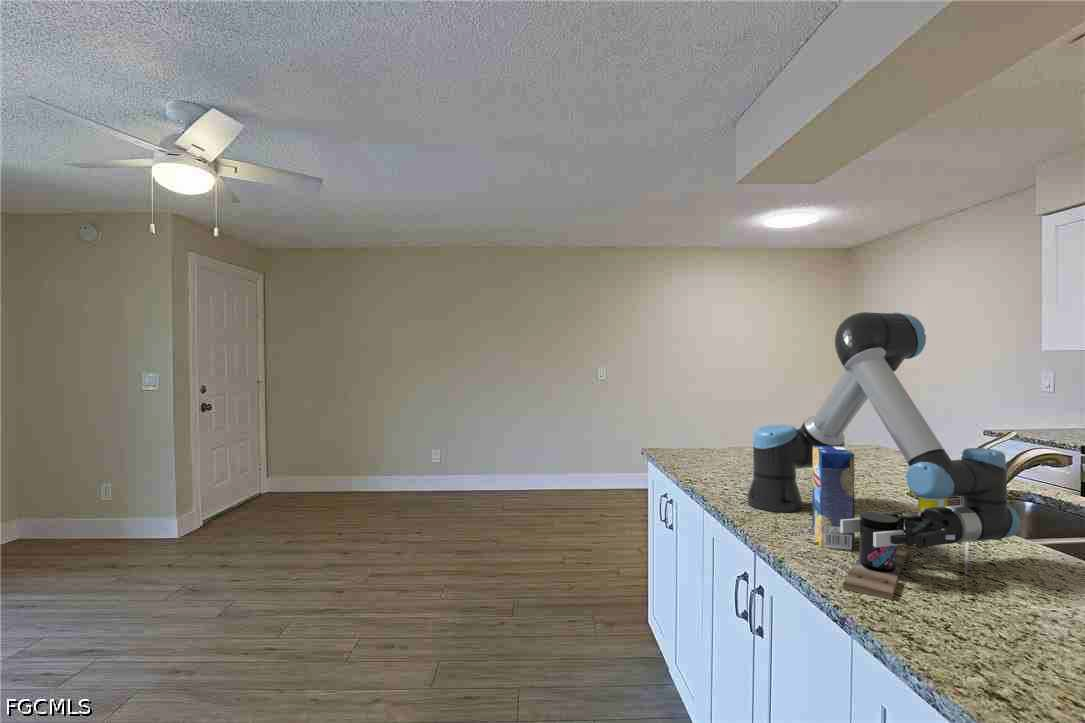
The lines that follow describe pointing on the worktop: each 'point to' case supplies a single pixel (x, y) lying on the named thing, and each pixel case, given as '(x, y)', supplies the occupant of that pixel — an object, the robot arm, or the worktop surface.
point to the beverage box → (832, 495)
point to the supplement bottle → (930, 503)
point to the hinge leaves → (874, 579)
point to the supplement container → (868, 554)
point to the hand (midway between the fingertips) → (857, 532)
